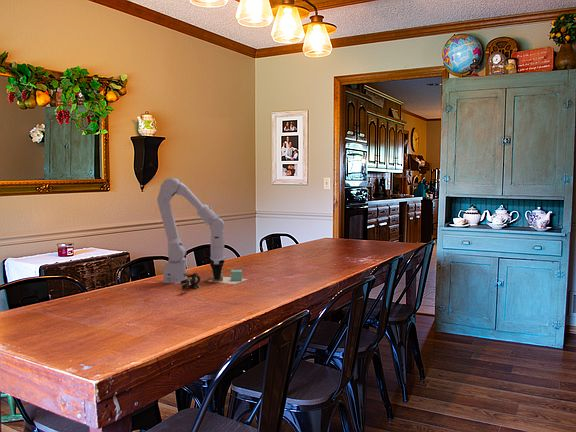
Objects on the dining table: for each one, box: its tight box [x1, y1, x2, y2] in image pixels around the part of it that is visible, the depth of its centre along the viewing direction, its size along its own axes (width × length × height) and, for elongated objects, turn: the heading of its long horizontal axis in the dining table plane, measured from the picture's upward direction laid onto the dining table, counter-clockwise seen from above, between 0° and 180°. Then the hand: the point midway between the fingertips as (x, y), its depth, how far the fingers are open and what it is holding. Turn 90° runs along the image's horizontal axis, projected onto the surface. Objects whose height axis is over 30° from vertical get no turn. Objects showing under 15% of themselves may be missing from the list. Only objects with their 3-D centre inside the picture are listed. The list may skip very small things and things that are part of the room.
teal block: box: [230, 269, 243, 282], centre depth 213 cm, size 4×4×4 cm
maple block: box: [211, 269, 224, 281], centre depth 212 cm, size 4×4×4 cm
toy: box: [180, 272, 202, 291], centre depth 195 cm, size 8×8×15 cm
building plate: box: [208, 276, 248, 285], centre depth 213 cm, size 11×14×1 cm
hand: (217, 278), depth 213 cm, fingers closed on maple block, 4 cm apart
